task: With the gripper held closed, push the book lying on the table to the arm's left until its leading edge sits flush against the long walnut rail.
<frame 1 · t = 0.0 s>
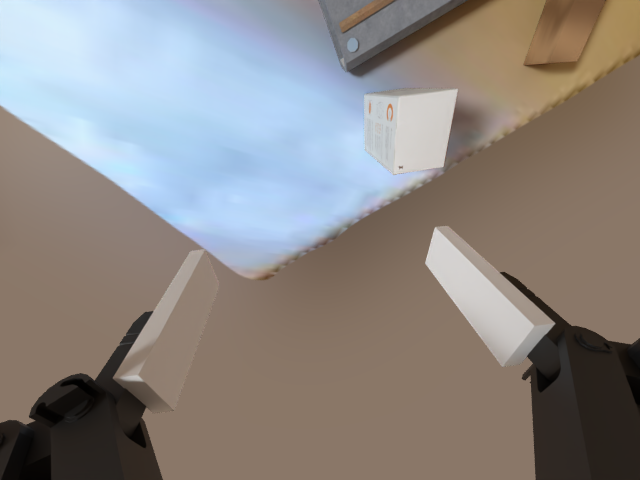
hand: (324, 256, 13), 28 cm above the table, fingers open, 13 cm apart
small box: (383, 120, 36), on the table
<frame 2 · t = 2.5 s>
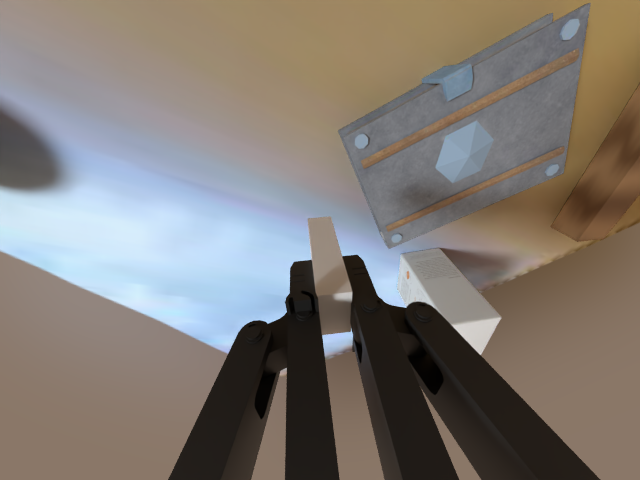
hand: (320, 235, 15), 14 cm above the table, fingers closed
rail: (616, 143, 28), on the table
book: (442, 149, 27), on the table
small box: (416, 268, 38), on the table
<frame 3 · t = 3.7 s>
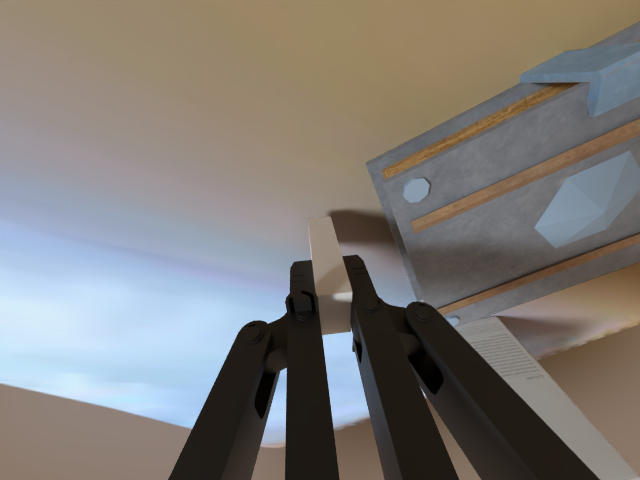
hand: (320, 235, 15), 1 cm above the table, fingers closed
book: (525, 186, 17), on the table
small box: (460, 338, 28), on the table
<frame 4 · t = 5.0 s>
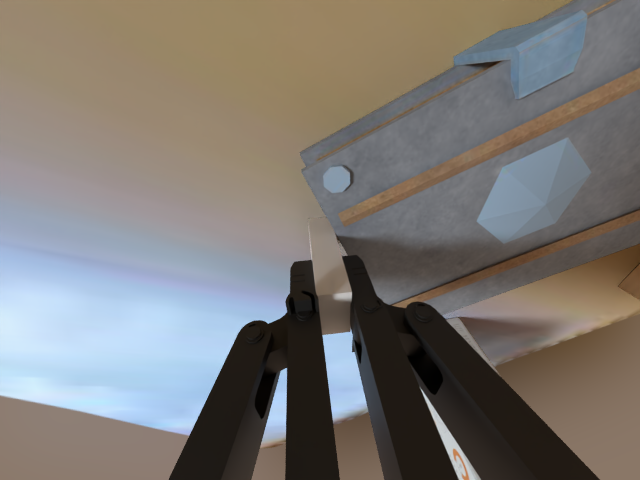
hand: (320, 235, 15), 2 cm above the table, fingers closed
book: (479, 179, 17), on the table, touching gripper
small box: (425, 339, 27), on the table
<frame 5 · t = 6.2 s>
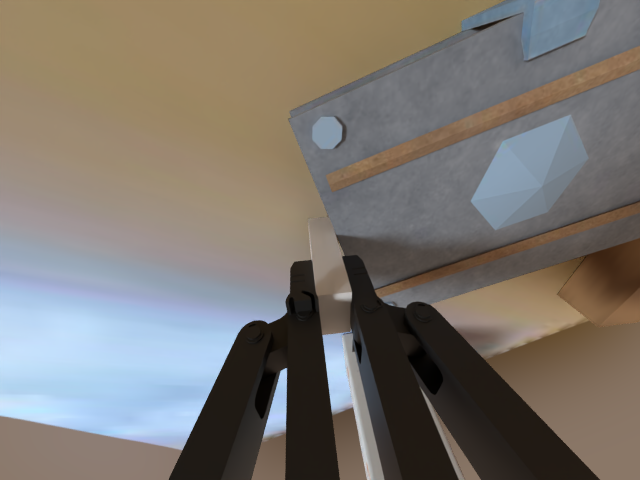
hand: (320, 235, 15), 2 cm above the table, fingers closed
book: (474, 166, 16), on the table, touching gripper
small box: (369, 346, 27), on the table
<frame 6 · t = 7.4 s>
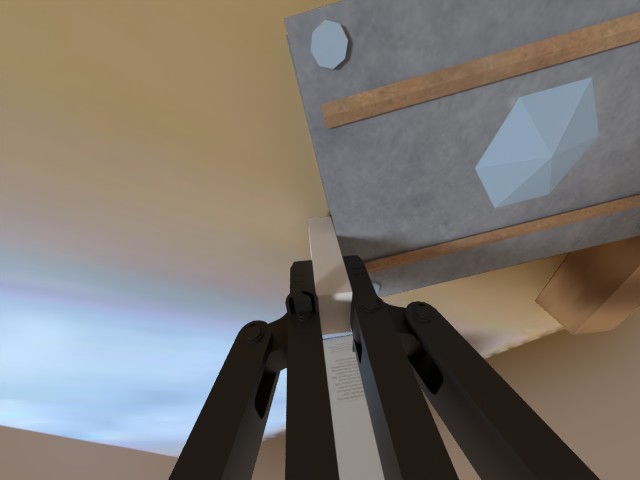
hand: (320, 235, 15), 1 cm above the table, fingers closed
rail: (633, 195, 18), on the table
book: (476, 144, 15), on the table
small box: (349, 352, 27), on the table
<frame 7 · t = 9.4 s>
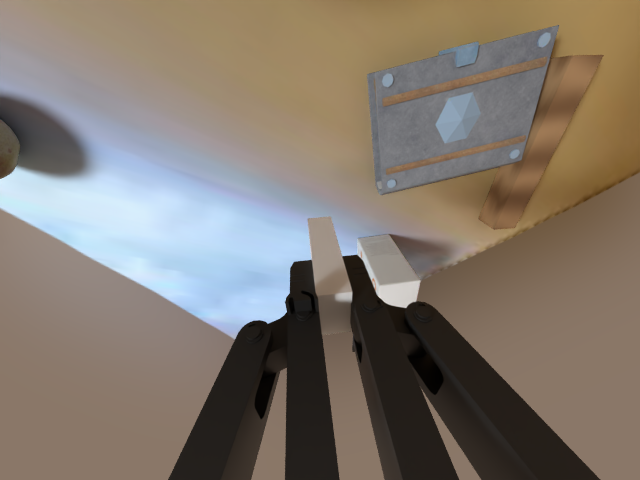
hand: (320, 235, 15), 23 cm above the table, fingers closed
rail: (516, 152, 37), on the table
book: (440, 120, 34), on the table
small box: (372, 251, 46), on the table
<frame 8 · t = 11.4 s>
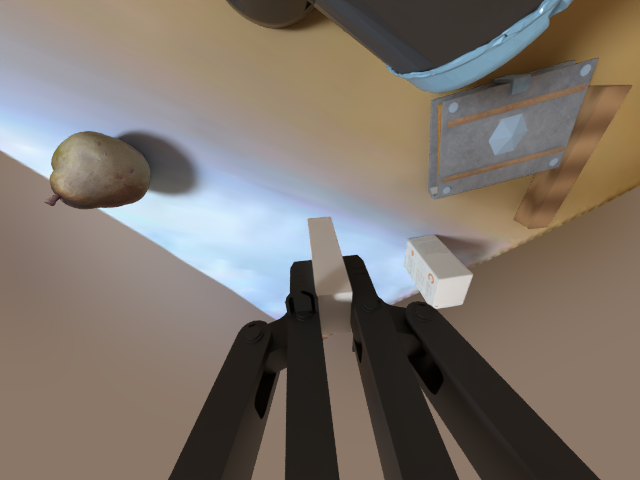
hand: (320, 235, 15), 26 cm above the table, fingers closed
rail: (550, 162, 43), on the table
book: (487, 134, 40), on the table
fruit: (125, 160, 36), on the table
small box: (418, 250, 52), on the table
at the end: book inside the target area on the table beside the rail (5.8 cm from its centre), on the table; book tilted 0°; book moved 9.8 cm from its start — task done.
